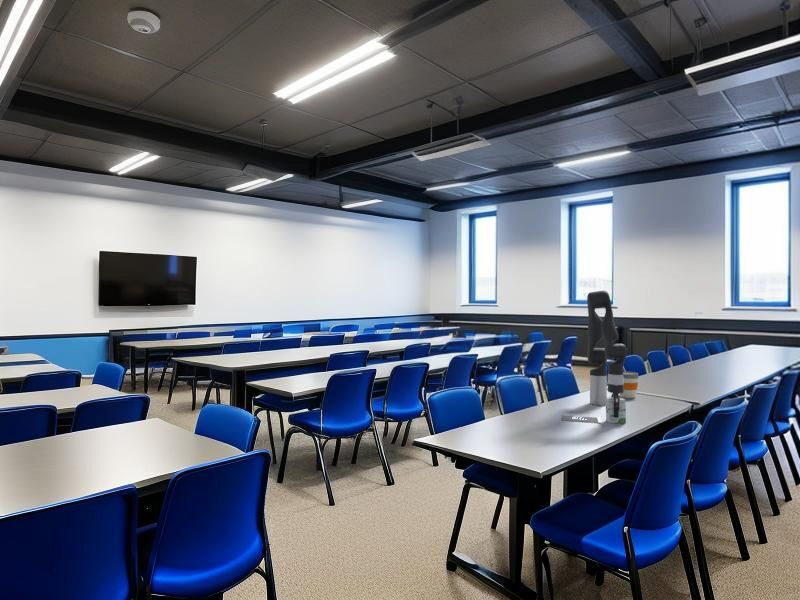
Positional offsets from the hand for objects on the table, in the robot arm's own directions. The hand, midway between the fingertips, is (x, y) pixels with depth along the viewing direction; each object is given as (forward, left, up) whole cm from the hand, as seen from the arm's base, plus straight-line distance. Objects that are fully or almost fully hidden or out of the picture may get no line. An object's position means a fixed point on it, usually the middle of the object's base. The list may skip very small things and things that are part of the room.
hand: (615, 415), depth 257 cm
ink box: (0, 0, -3) cm, 3 cm away
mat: (0, -16, -3) cm, 17 cm away
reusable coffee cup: (-72, +13, -3) cm, 73 cm away
